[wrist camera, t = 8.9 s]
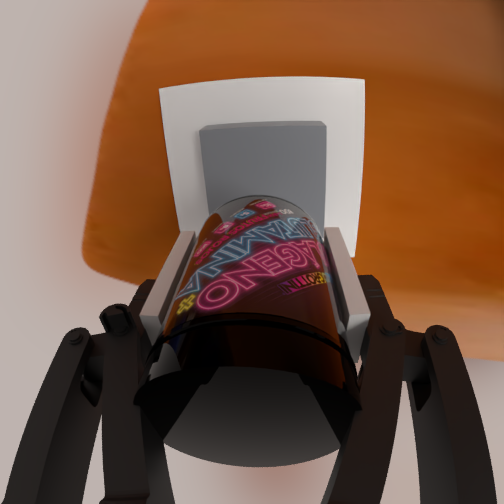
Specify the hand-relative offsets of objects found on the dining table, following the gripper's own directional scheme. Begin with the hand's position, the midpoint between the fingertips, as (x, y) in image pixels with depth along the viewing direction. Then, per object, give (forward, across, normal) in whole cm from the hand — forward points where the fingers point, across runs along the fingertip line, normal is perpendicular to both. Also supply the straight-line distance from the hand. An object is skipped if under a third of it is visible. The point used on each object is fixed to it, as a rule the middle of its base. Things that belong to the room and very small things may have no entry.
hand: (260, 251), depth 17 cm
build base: (+15, 0, 0) cm, 15 cm away
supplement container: (+1, 0, 0) cm, 1 cm away
